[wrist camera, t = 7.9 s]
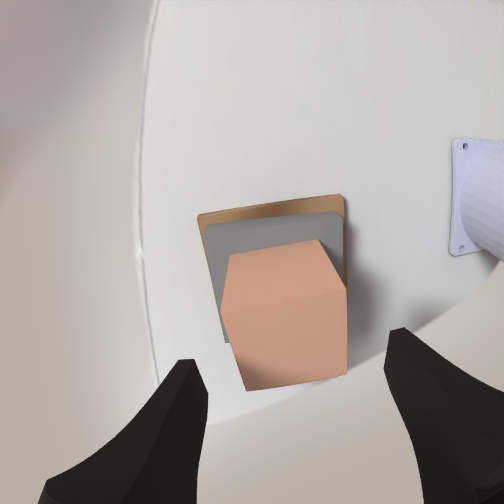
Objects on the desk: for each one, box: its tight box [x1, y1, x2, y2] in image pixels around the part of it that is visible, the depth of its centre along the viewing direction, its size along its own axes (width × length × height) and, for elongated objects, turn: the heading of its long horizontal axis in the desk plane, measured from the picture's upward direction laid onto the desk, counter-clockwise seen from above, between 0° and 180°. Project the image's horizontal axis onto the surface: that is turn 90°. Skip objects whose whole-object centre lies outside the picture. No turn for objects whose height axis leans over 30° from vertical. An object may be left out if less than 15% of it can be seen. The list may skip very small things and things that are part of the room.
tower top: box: [202, 211, 343, 343], centre depth 16 cm, size 7×7×2 cm
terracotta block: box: [220, 239, 347, 391], centre depth 13 cm, size 4×4×5 cm
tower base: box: [197, 194, 347, 299], centre depth 18 cm, size 8×8×2 cm
